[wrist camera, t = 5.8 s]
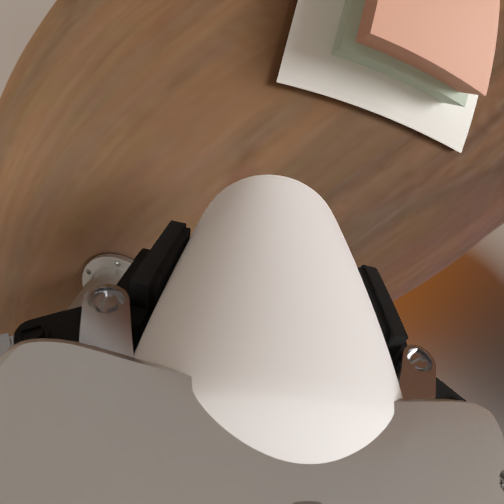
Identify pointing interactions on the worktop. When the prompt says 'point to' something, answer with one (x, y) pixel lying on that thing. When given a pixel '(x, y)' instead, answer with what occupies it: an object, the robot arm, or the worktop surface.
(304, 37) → the tiered block pedestal
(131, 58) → the worktop surface
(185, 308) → the can
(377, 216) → the worktop surface
